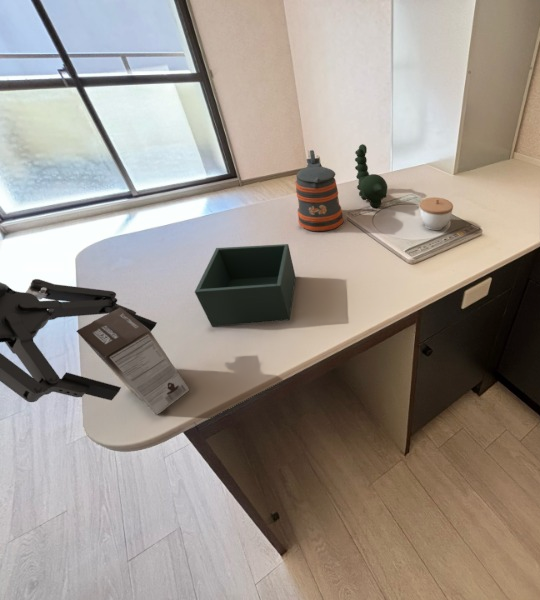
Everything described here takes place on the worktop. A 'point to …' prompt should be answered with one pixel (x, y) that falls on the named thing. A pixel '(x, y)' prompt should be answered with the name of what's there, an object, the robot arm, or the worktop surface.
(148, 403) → the coffee box
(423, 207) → the trinket box
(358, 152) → the toy figurine
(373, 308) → the worktop surface
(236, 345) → the worktop surface
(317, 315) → the worktop surface
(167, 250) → the worktop surface
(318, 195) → the beer stein
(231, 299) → the waste bin
